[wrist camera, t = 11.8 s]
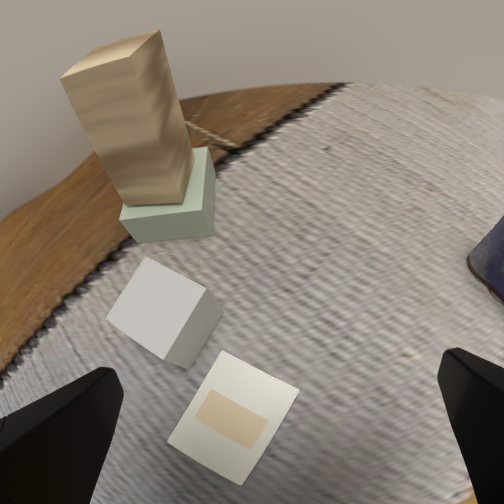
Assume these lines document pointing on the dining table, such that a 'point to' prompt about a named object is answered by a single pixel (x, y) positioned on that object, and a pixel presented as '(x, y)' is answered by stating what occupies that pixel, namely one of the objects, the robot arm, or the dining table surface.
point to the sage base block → (177, 208)
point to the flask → (490, 261)
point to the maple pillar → (133, 118)
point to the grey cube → (166, 313)
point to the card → (232, 418)
